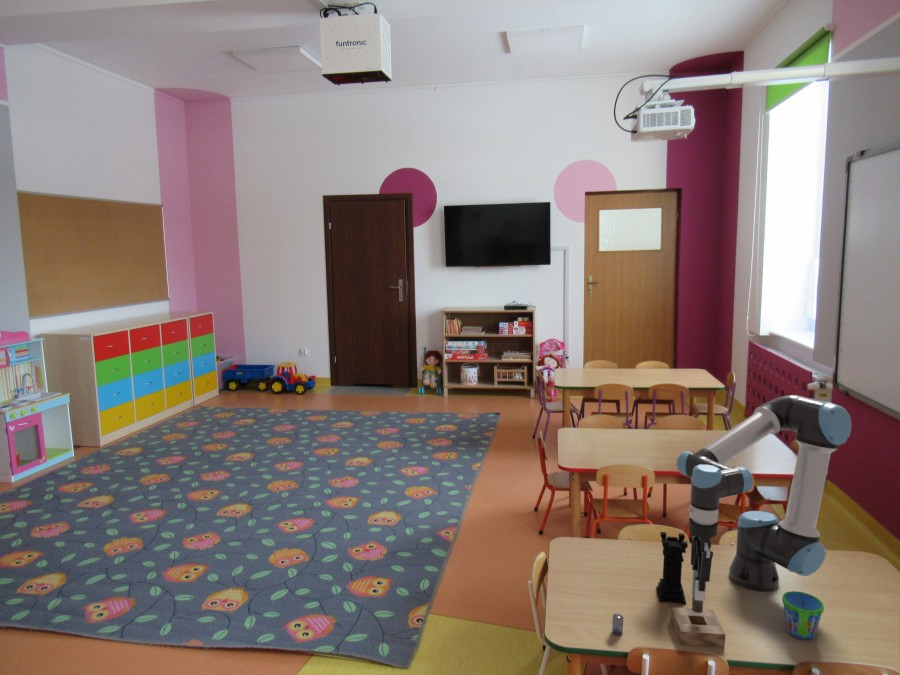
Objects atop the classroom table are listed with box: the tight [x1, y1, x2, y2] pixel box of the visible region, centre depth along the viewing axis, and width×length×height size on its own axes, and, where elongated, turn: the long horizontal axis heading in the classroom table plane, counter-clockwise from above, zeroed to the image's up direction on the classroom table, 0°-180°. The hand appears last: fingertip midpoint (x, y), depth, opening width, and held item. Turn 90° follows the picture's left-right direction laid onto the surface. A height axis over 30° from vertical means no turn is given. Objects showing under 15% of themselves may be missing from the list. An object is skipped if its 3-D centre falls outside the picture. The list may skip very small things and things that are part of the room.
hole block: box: [670, 607, 726, 648], centre depth 185 cm, size 12×12×4 cm
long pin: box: [691, 569, 704, 613], centre depth 183 cm, size 3×3×12 cm
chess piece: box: [656, 531, 689, 605], centre depth 202 cm, size 8×8×20 cm
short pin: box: [611, 613, 624, 637], centre depth 185 cm, size 3×3×5 cm
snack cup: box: [781, 590, 825, 640], centre depth 184 cm, size 16×11×10 cm
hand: (698, 596), depth 183 cm, fingers closed on long pin, 3 cm apart
